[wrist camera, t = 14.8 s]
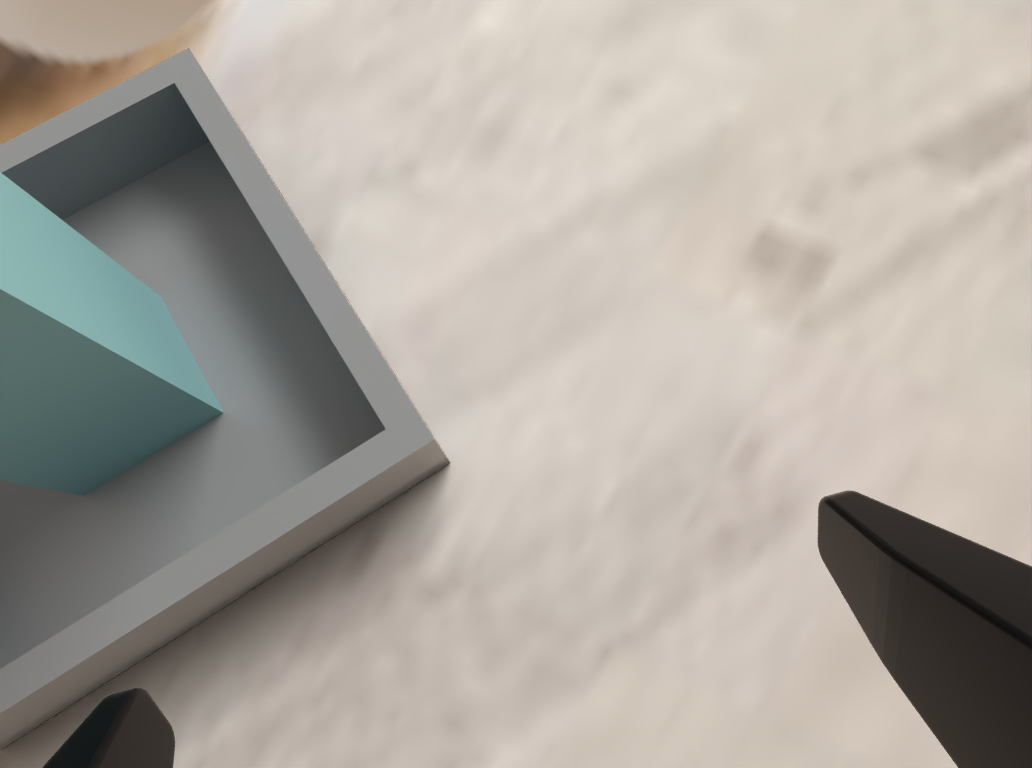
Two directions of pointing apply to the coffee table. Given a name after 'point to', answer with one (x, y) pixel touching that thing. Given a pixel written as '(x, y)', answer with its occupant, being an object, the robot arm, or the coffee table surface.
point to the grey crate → (231, 377)
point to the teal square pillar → (83, 358)
